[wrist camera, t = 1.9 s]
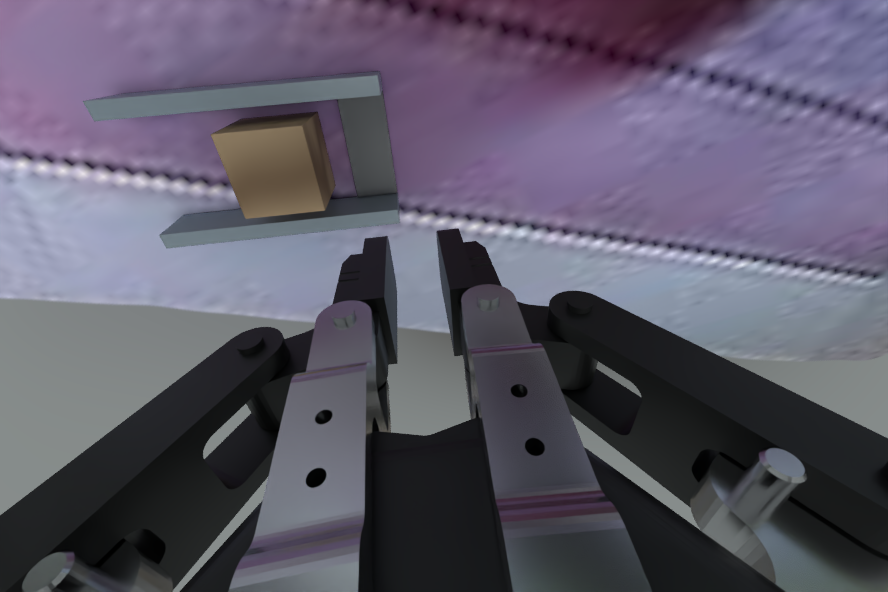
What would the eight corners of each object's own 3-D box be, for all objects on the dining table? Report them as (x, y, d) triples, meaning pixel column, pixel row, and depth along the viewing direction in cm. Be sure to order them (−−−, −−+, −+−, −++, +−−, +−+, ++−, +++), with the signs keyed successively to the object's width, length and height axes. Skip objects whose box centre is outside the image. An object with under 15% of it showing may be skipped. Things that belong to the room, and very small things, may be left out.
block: (241, 118, 24) (210, 134, 20) (317, 111, 25) (301, 125, 20) (268, 192, 27) (245, 219, 23) (335, 185, 27) (325, 210, 23)
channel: (122, 93, 23) (82, 101, 20) (379, 71, 24) (377, 75, 21) (189, 227, 28) (166, 248, 25) (399, 205, 29) (399, 223, 26)
